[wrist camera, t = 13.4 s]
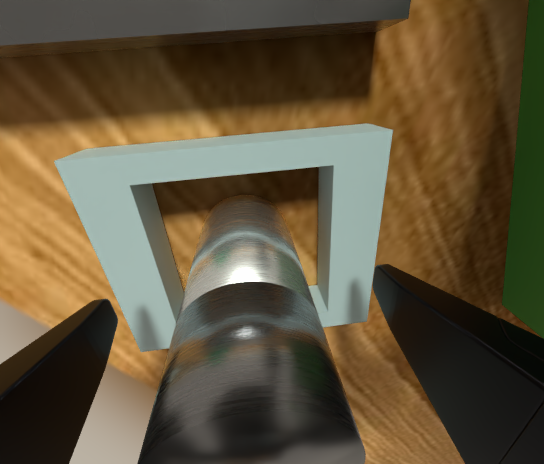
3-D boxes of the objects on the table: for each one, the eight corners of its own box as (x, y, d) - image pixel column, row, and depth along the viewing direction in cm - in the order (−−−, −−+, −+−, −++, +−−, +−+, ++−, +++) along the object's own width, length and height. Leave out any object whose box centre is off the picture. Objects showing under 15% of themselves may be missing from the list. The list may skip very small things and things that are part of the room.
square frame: (368, 123, 11) (393, 129, 9) (351, 294, 15) (366, 321, 13) (86, 148, 10) (54, 161, 8) (152, 320, 14) (140, 351, 13)
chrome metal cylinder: (285, 190, 12) (378, 396, 4) (289, 264, 14) (356, 504, 6) (193, 199, 12) (93, 438, 4) (210, 274, 13) (168, 537, 6)
